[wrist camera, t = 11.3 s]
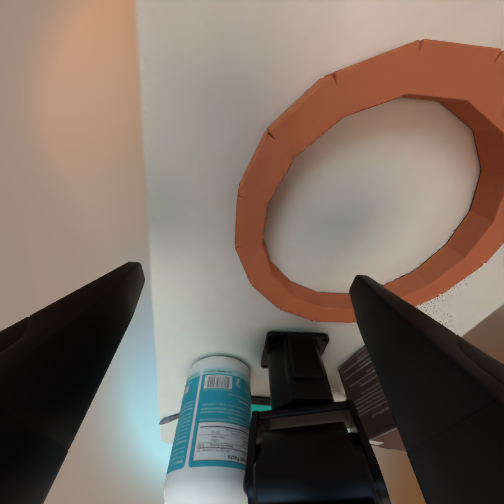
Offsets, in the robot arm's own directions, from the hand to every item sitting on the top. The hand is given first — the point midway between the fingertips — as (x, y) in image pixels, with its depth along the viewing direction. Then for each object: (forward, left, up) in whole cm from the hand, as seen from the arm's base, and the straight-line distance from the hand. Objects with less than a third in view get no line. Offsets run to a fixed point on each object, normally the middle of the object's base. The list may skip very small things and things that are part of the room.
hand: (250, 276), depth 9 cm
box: (-18, -16, -7) cm, 25 cm away
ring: (0, -8, -7) cm, 11 cm away
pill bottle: (-21, +2, -7) cm, 22 cm away
